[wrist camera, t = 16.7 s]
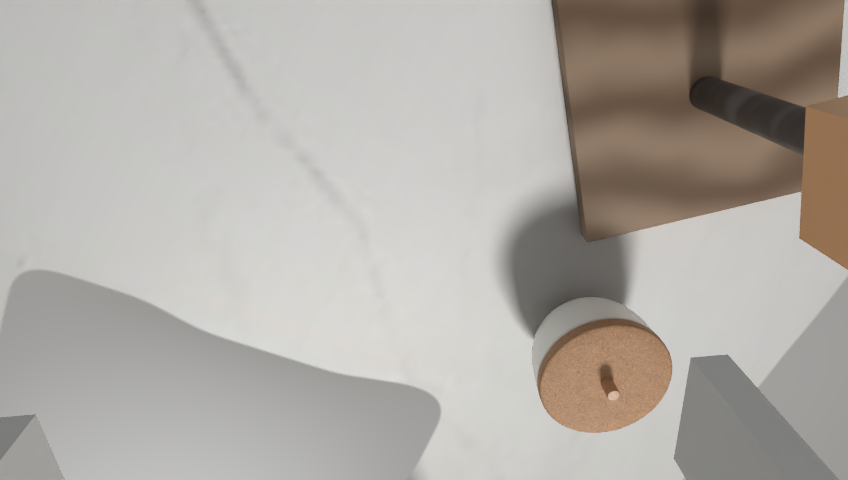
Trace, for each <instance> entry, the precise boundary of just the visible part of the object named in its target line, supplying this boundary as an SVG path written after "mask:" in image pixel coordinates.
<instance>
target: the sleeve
mask: <svg viewBox="0 0 848 480" xmlns="http://www.w3.org/2000/svg"><path fill="white" fill-rule="evenodd" d="M799 238H800V239H801V240H803V241H804V242H806V243H808V244H809V245H811V246H812V247H814V248H815V249H817V250H818V251H820V252H821V253H823V254H825V255H826V256H828V257H829V258H831V259H832V260H834V261H835V262H837V263H838V264H840V265H841V266H843V267H845V268H846V269H848V96H844V97H840V98H836V99H832V100H828V101H824V102H820V103H815V104H811V105H807V106H806V115H805V135H804V155H803V175H802V196H801V216H800V236H799Z"/></svg>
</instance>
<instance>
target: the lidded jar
mask: <svg viewBox="0 0 848 480" xmlns="http://www.w3.org/2000/svg"><path fill="white" fill-rule="evenodd" d="M532 365H533V371H534V376H535V380H536V383H537V386H538V391H539V396H540V399H541V401H542V403H543V406H544V408H545V409H546V411H547V412H548V414H549V415H550V416H551V417H552V418H553V419H554V420H556V421H557V422H559V423H560V424H562V425H564V426H566V427H568V428H570V429H574V430H577V431H581V432H592V433H600V432H608V431H612V430H617V429H620V428H623V427H626V426H628V425H630V424H632V423H634V422H636V421H638V420H639V419H641V418H643V417H644V416H645V415H647V414H648V413H649V412H650V411H652V410H653V409H654V408H655V406H656V405H657V404H658V403H659V402H660V401H661V399H662V398H663V396H664V395H665V393H666V391H667V389H668V386H669V383H670V380H671V375H672V361H671V357H670V354H669V351H668V350H667V348H666V346H665V344H664V343H663V342H662V341H661V339H660V338H659V337H658V336H657V335H656V334H655V333H654V332H653V331H652V330H651V329H650V327H649V326H648V325H647V324H646V323H645V322H644V320H642V319H641V318H640V317H639V316H638V315H637V314H636V313H634V312H633V311H632V310H630V309H629V308H627V307H626V306H624V305H622V304H620V303H618V302H615V301H613V300H610V299H607V298H601V297H582V298H577V299H573V300H570V301H568V302H565V303H563V304H562V305H560V306H558V307H557V308H555V309H554V310H553V311H551V312H550V313H549V314H548V315H547V316H546V318H545V319H544V320H543V322H542V323H541V325H540V326H539V328H538V330H537V332H536V335H535V338H534V342H533V347H532Z"/></svg>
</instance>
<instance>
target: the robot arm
mask: <svg viewBox="0 0 848 480" xmlns="http://www.w3.org/2000/svg"><path fill="white" fill-rule="evenodd" d="M674 459H675V461H676V463H677V464H678V466H679V468H680V469H681V471H682V473H683V474H684V476H685V478H686V479H687V480H839V479H838V478H837V477H836V476H835V475H834V474H833V472H832V471H831V470H830V469H829V468H828V467H827V466H826V465H825V463H824V462H823V461H822V460H821V459H820V458H819V457H818V456H817V454H816V453H815V452H814V451H813V450H812V449H811V448H810V447H809V445H808V444H807V443H806V442H805V441H804V440H803V439H802V438H801V437H800V435H799V434H798V433H797V432H796V431H795V430H794V429H793V427H792V426H791V425H789V423H788V422H787V421H786V420H785V418H784V417H783V416H782V415H781V414H780V413H779V412H778V411H777V410H776V408H775V407H774V406H773V405H772V404H771V403H770V402H769V401H768V399H767V398H766V397H765V396H764V395H763V394H762V393H761V392H760V390H759V389H758V388H757V387H756V386H755V385H754V384H753V383H752V381H751V380H750V379H749V378H748V377H747V376H746V375H745V374H744V372H743V371H742V370H741V369H740V368H739V367H738V366H737V365H736V363H735V362H734V361H733V360H732V359H731V358H730V357H729V356H728V355H717V356H706V357H694V358H691V360H690V366H689V372H688V378H687V384H686V390H685V396H684V402H683V408H682V413H681V419H680V425H679V431H678V437H677V443H676V449H675V455H674ZM0 480H64V477H63V475H62V473H61V470H60V468H59V466H58V464H57V461H56V459H55V457H54V454H53V452H52V450H51V448H50V446H49V443H48V441H47V439H46V436H45V434H44V432H43V429H42V427H41V425H40V422H39V420H38V418H37V416H36V414H35V415H24V416H12V417H1V418H0Z"/></svg>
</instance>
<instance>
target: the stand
mask: <svg viewBox="0 0 848 480" xmlns="http://www.w3.org/2000/svg"><path fill="white" fill-rule="evenodd" d="M552 6H553V14H554V22H555V30H556V37H557V45H558V53H559V60H560V68H561V76H562V83H563V91H564V99H565V107H566V114H567V122H568V130H569V137H570V145H571V153H572V160H573V168H574V176H575V184H576V191H577V199H578V207H579V214H580V222H581V230H582V235H583V237H584V238H585V239H586V241H587V242H591V241H595V240H599V239H604V238H608V237H612V236H616V235H620V234H625V233H629V232H633V231H637V230H641V229H646V228H650V227H654V226H658V225H662V224H667V223H671V222H675V221H679V220H683V219H688V218H692V217H696V216H700V215H704V214H709V213H713V212H717V211H721V210H725V209H730V208H734V207H738V206H742V205H746V204H751V203H755V202H759V201H763V200H767V199H772V198H776V197H780V196H784V195H788V194H793V193H797V192H801V191H802V175H803V155H804V135H805V115H806V106H807V105H811V104H815V103H820V102H824V101H828V100H832V99H836V98H837V97H838V83H839V69H840V55H841V42H842V28H843V14H844V0H552Z"/></svg>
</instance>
